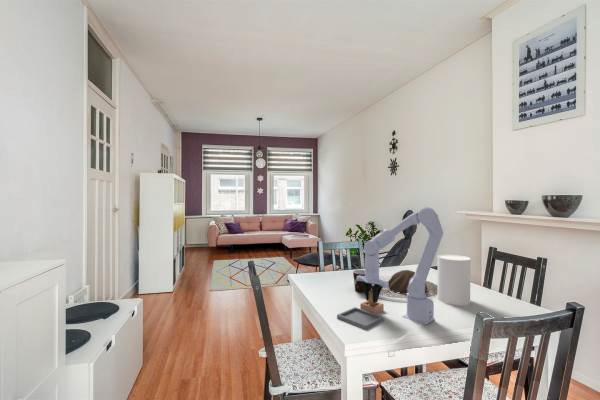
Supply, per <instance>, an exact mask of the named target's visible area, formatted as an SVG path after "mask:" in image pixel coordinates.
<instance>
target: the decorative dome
mask: <svg viewBox="0 0 600 400" xmlns="http://www.w3.org/2000/svg"><path fill="white" fill-rule="evenodd" d="M415 272H416V271H413V270H410V269H405V270H404V269H402V270H400V271H397V272H395V273H393V275H391V278H390V279H388V281H387V282H389V287H388V290H389V289H390V290H389V291H392V290H394V291H393V292H395V291H396V292H400V293H399V294H403V293H408V291H407V287H408V285H409V280H410V279H411V278H412V277H413V276H414V274H415ZM427 290H428V285H427V283H425V291H427ZM396 292H395V293H396Z"/></svg>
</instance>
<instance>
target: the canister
mask: <svg viewBox="0 0 600 400" xmlns="http://www.w3.org/2000/svg"><path fill="white" fill-rule="evenodd" d="M436 274H437V276H436V277H437V294H436V296H437V300H438V301H440V302H441V303H444V304H446V305H452V306H459V307H460V306H462V307H463V306H469V305H470V304H471V258H470V257H469V256H465V255H461V254H451V253H446V254H443V253H440V254H438V255H437V273H436Z"/></svg>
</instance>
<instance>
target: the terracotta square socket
mask: <svg viewBox="0 0 600 400" xmlns="http://www.w3.org/2000/svg"><path fill="white" fill-rule="evenodd" d="M359 307H360V308H359V309H362V310H365V311H368V312H371V313H374V314H377V315H378V314H380V313H381V312H383V311H384V303H382V302H378V301H377V302H376V303H375V306H374V307H372V306H369V300H368V301H367V300H366V301H364V302H361V303H360V305H359Z"/></svg>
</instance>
